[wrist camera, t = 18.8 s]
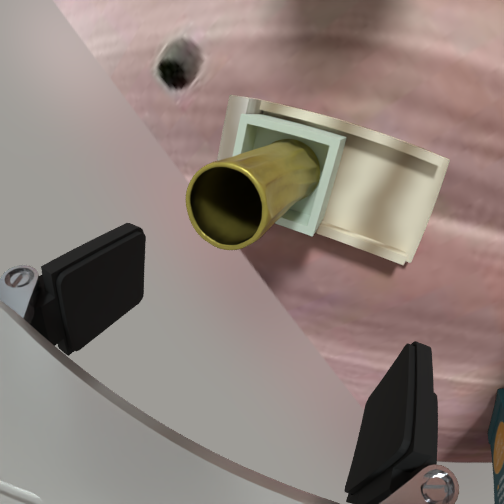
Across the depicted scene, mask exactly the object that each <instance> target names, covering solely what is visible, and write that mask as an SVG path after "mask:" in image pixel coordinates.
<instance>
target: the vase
mask: <svg viewBox="0 0 504 504" xmlns="http://www.w3.org/2000/svg"><path fill="white" fill-rule="evenodd" d="M319 180H320V164H319V161H318V158H317V156H316V155H315V153H314V152H313V150H312V149H311V148H310V147H309V146H308V145H306V144H305V143H303V142H301V141H298V140H295V139H281V140H278V141H275V142H273V143H271V144H270V145H267V146H264V147H261V148H257V149H254V150H251V151H248V152H245V153H242V154H239V155H236V156H233V157H229V158H226V159H222V160H219V161H215V162H212V163H210V164H208V165H206V166H204V167H203V168H201V169H200V170H199V171H198V172H196V174H195V175H194V176H193V178H192V180H191V181H190V183H189V185H188V188H187V192H186V207H187V212H188V215H189V218H190V221H191V223H192V225H193V227H194V229H195V230H196V232H197V233H198V234H199V235H200V236H201V237H202V238H203V239H204V240H205V241H207V242H209V243H210V244H212V245H213V246H215V247H217V248H220V249H224V250H238V249H242V248H244V247H246V246H248V245H250V244H252V243H254V242H255V241H257V240H258V239H259V238H261V237H262V236H263V235H264V234H265V233H266V231H267V230H269V229H270V228H271V226H272V225H273V224H274V223H275V222H276V221H277V220H279V219H280V218H281V217H282V216H283V215H284V214H285V213H286V212H287V211H288V209H289V208H290V207H291V206H293V205H294V204H295V203H296V202H297V201H300V200H302V199H304V198H306V197H307V196H309V195H310V194H311V193H312V192H313V191H314V190H315V188H316V187H317V185H318V183H319Z"/></svg>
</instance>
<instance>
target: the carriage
mask: <svg viewBox="0 0 504 504" xmlns="http://www.w3.org/2000/svg"><path fill="white" fill-rule="evenodd" d="M346 138H347V137H345V136H342V135H338V134H335V133H332V132H328V131H325V130H322V129H318V128H315V127H311V126H307V125H304V124H300V123H296V122H292V121H288V120H284V119H280V118H276V117H272V116H268V115H263V114H241V116H240V121H239V126H238V131H237V136H236V141H235V146H234V151H233V156H236V155H239V154H242V153H245V152H248V151H251V150H254V149H257V148H261V147H264V146H267V145H270V144H271V143H273V142H275V141H278V140H281V139H295V140H298V141H301V142H303V143H305V144H306V145H308V146H309V147H310V148H311V149H312V150H313V152H314V153H315V155H316V156H317V158H318V161H319V164H320V180H319V183H318V185H317V187H316V188H315V190H314V191H313V192H312V193H311V194H310V195H309V196H307V197H306V198H304V199H302V200H300V201H297V202H296V203H295V204H294V205H293V206H291V207H290V208H289V209H288V211H287V212H286V213H285V214H284V215H283V216H282V217H281V218H280V219H279V220H277V221H276V222H275V224H278V225H281V226H284V227H287V228H289V229H292V230H295V231H298V232H301V233H304V234H307V235H309V236H312V237H313V235H314V234H315V232H316V230H317V228H318V227H319V225H320V223H321V221H322V220H323V218H324V215H325V211H326V208H327V205H328V201H329V198H330V195H331V191H332V188H333V185H334V181H335V178H336V174H337V171H338V167H339V164H340V160H341V156H342V153H343V149H344V145H345V142H346ZM233 156H232V157H233Z"/></svg>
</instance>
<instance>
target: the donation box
mask: <svg viewBox="0 0 504 504" xmlns="http://www.w3.org/2000/svg"><path fill="white" fill-rule="evenodd" d="M488 441H489V444H491V453H492V463H493V475H494V499H495V504H504V388H502V389H498V392H497V397H496V401H495V406H494V410H493V414H492V418H491V422H490V426H489V430H488Z"/></svg>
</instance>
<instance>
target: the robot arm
mask: <svg viewBox="0 0 504 504" xmlns="http://www.w3.org/2000/svg"><path fill="white" fill-rule="evenodd" d="M145 241H146V237H145V234H144V233H143V230H142V229H141V228H140V227H137V226H135V225H133V224H130V223H126V224H124V225H122V226H120V227H118V228H115V229H114V230H111V231H109V232H107V233H105V234H103V235H101V236H99V237H97V238H95V239H93V240H91V241H89V242H87V243H85V244H83V245H82V246H79V247H77V248H75V249H73V250H71V251H69V252H67V253H66V254H64V255H62V256H60V257H58V258H56V259H54V260H52V261H51V262H49V263H47V264H45V265H43V266H41V268H42V275H41V276H39V275H38V272H37V270H36V269H35V268H33V267H31V266H27V265H19V266H16V267H12V268H10V269H8V270H7V271H6V272H4V274H3V275H2V277H1V278H0V504H339V503H337V502H334V501H331V500H328V499H325V498H322V497H319V496H316V495H313V494H310V493H308V492H305V491H302V490H299V489H297V488H294V487H291V486H289V485H286V484H284V483H281V482H279V481H276V480H274V479H272V478H269V477H267V476H264V475H262V474H260V473H257V472H255V471H253V470H250V469H248V468H246V467H243V466H241V465H239V464H237V463H235V462H233V461H231V460H229V459H227V458H224V457H222V456H220V455H218V454H216V453H214V452H212V451H210V450H209V449H206V448H205V447H203V446H201V445H199V444H197V443H195V442H193V441H192V440H190V439H188V438H186V437H184V436H183V435H181V434H179V433H177V432H176V431H174V430H172V429H170V428H169V427H167V426H165V425H164V424H162V423H160V422H159V421H157V420H155V419H153V418H152V417H151V416H149V415H147V414H146V413H144V412H143V411H141V410H140V409H138V408H137V407H135V406H133V405H132V404H130V403H129V402H127V401H126V400H125V399H123V398H122V397H120V396H119V395H117V394H115V393H114V392H113V391H111V390H110V389H109V388H107V387H106V386H105V385H103V384H102V383H101V382H99V381H98V380H96V379H95V378H94V377H92V376H91V375H90V374H89V373H87V372H86V371H84V370H83V369H82V368H81V367H79V366H78V365H77V364H76V363H74V362H73V361H72V360H71V359H69V358H68V357H67V356H66V355H65V354H67V355H70V354H71V353H72V352H74V351H78V350H80V349H81V348H82V347H84V346H85V345H86V344H88V343H89V342H90V341H91V340H93V339H94V338H95V337H97V336H98V335H99V334H100V333H102V332H103V331H104V330H105V329H107V328H108V327H109V326H110V325H112V324H113V323H114V322H115V321H117V320H118V319H119V318H121V317H122V316H123V315H124V314H126V313H127V312H128V311H130V310H131V309H132V308H133V307H135V306H136V305H137V304H139V302H140V301H141V300H142V298H143V294H144V260H145ZM56 344H58V347H59V349H61V350H62V351H63V352H64V353H65V354H63V353H62V352H61V351H60V350H58V349H57V348H56V347H55V345H56ZM437 439H438V401H437V395H436V394H435V393H434V390H433V366H432V351H431V347H429V346H426V345H424V344H421V343H419V342H416V341H415V342H413V343H412V344H406V345H405V347H404V348H403V350H402V351H401V353H400V354H399V356H398V357H397V359H396V360H395V362H394V363H393V365H392V366H391V367H390V369H389V370H388V372H387V373H386V375H385V376H384V377H383V379H382V380H381V382H380V383H379V384H378V386H377V387H376V389H375V390H374V391H373V393H372V394H371V395H370V397H369V398H368V400H367V402H366V405H365V410H364V414H363V419H362V424H361V428H360V432H359V437H358V441H357V445H356V449H355V453H354V457H353V461H352V465H351V468H350V472H349V476H348V479H347V482H346V486H345V492H347V493H349V494H348V497H347V500H346V502H348V503H352V504H455V502H456V500H457V498H458V494H459V485H458V481H457V479H456V477H455V476H454V474H453V473H452V472H451V471H450V470H449V469H448V468H446V467H444V466H442V465H436V463H437Z"/></svg>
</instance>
